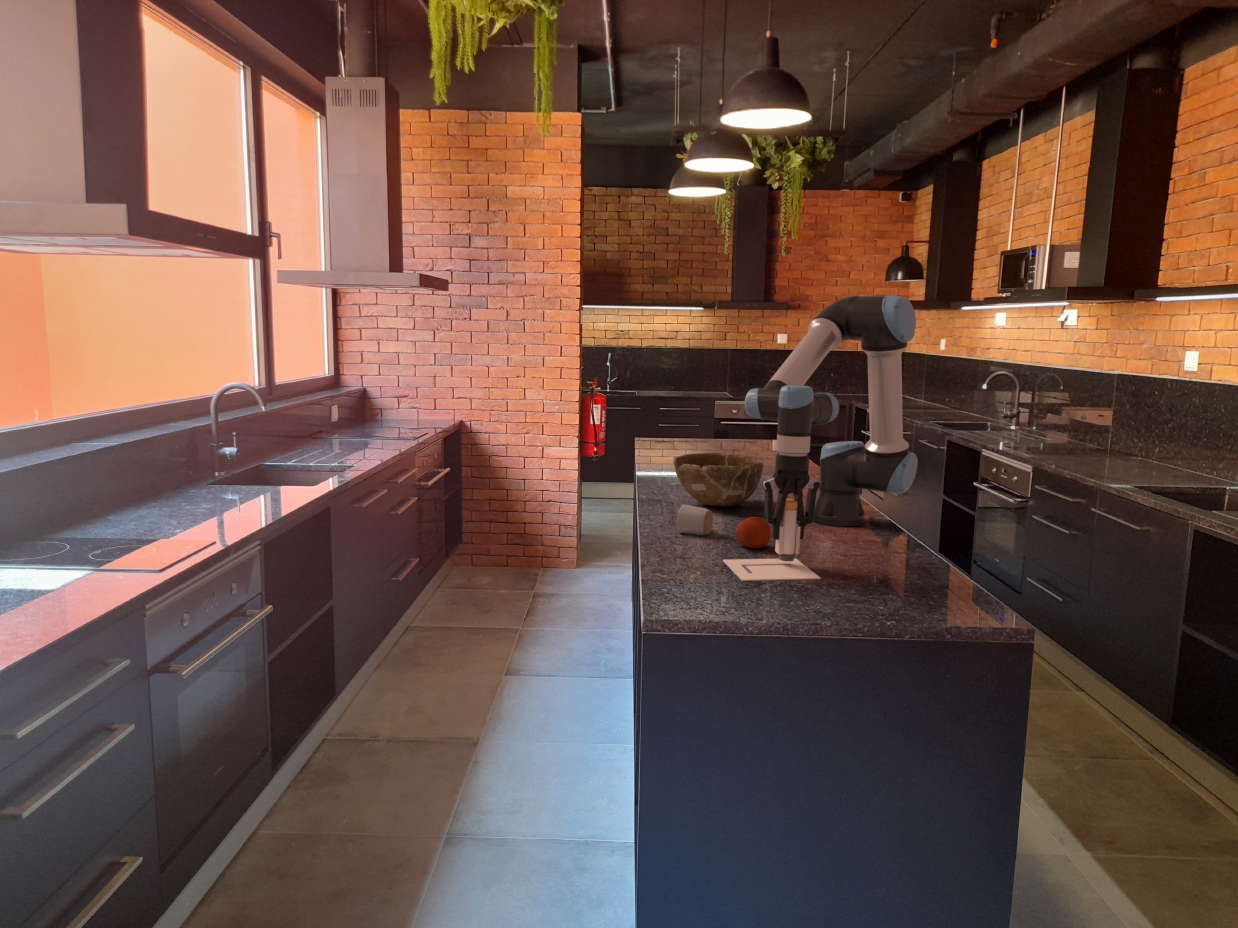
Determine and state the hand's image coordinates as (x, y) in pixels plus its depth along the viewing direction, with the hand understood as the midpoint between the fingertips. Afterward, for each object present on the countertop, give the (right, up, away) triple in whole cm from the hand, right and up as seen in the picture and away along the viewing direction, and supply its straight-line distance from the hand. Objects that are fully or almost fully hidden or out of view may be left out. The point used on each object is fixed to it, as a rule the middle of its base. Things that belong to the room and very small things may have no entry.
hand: (786, 552), depth 197 cm
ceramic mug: (-19, +2, +31) cm, 36 cm away
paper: (-4, -4, -3) cm, 7 cm away
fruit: (-5, -1, +17) cm, 18 cm away
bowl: (-9, +7, +65) cm, 66 cm away
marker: (0, -2, 0) cm, 2 cm away
